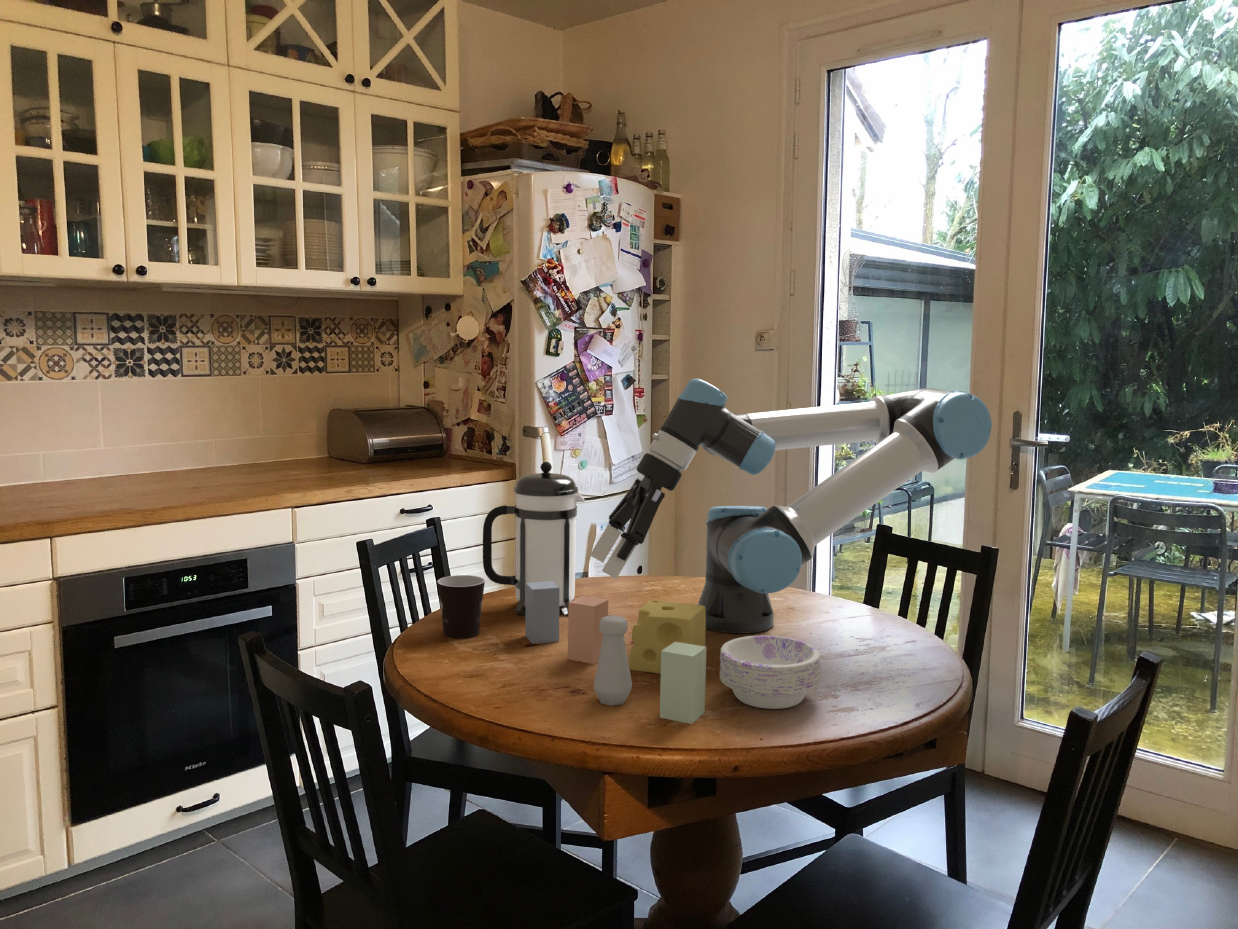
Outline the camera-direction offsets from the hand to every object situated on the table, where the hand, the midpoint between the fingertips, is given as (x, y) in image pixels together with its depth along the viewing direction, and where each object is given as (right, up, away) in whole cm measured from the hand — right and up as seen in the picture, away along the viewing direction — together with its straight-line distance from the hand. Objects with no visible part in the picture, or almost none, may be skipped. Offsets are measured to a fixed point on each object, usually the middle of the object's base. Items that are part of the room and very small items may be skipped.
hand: (602, 566), depth 169 cm
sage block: (+12, -19, -27) cm, 35 cm away
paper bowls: (+26, -18, -20) cm, 37 cm away
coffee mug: (-26, -13, +12) cm, 32 cm away
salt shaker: (+2, -18, -21) cm, 28 cm away
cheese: (+11, -16, -5) cm, 21 cm away
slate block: (-11, -14, +9) cm, 20 cm away
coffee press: (-13, -12, +28) cm, 33 cm away
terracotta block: (-3, -15, -2) cm, 16 cm away
